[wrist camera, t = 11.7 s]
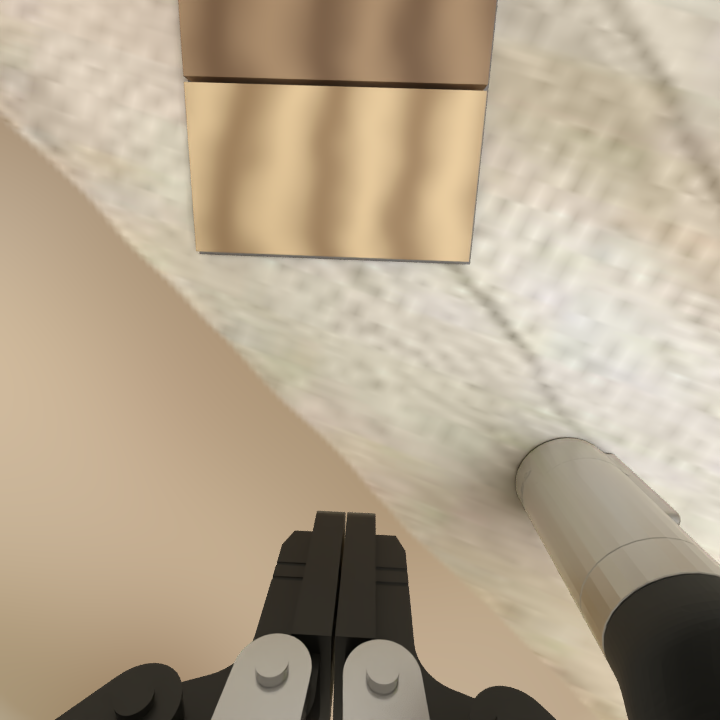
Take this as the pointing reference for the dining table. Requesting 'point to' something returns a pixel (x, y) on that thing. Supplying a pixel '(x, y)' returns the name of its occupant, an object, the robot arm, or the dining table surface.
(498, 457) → the dining table surface
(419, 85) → the walnut plank
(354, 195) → the oak plank
